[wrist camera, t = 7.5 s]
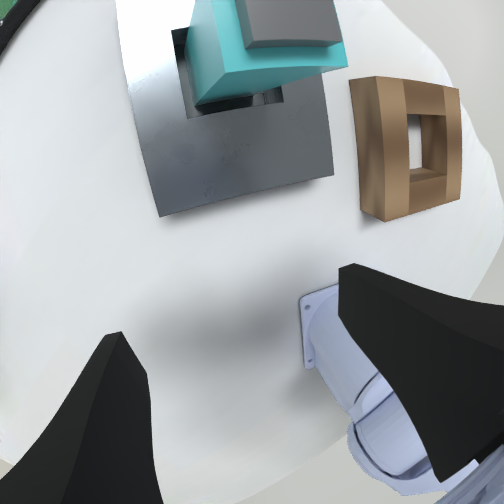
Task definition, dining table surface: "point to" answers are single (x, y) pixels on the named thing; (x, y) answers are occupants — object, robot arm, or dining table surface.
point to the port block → (214, 121)
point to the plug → (259, 45)
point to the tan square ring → (406, 145)
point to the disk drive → (13, 17)
